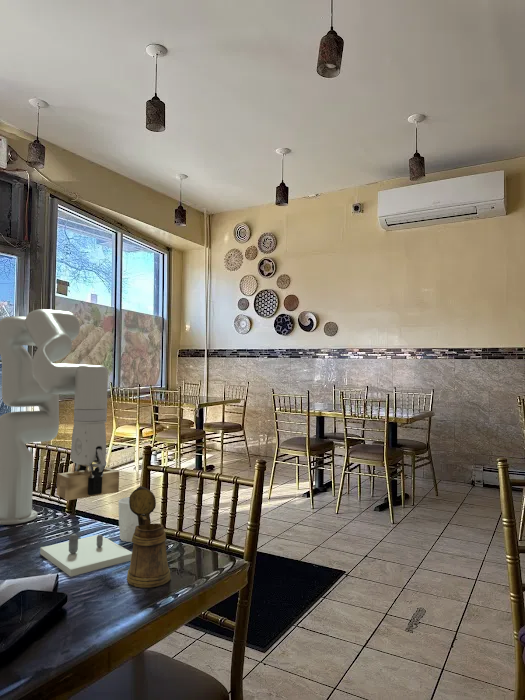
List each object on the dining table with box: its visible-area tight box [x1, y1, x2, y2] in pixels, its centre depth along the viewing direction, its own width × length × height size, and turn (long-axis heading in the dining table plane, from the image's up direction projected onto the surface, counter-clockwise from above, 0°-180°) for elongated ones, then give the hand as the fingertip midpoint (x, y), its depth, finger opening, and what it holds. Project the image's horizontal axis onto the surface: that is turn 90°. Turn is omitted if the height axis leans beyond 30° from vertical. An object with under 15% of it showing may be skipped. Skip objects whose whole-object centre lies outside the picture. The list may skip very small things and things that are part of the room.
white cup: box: [117, 496, 145, 543], centre depth 134 cm, size 8×8×10 cm
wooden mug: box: [126, 485, 172, 589], centre depth 110 cm, size 9×14×18 cm, turn 27°
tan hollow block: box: [56, 466, 120, 501], centre depth 121 cm, size 12×6×5 cm, turn 133°
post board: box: [39, 533, 132, 578], centre depth 120 cm, size 18×15×6 cm
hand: (88, 490), depth 120 cm, fingers closed on tan hollow block, 6 cm apart
